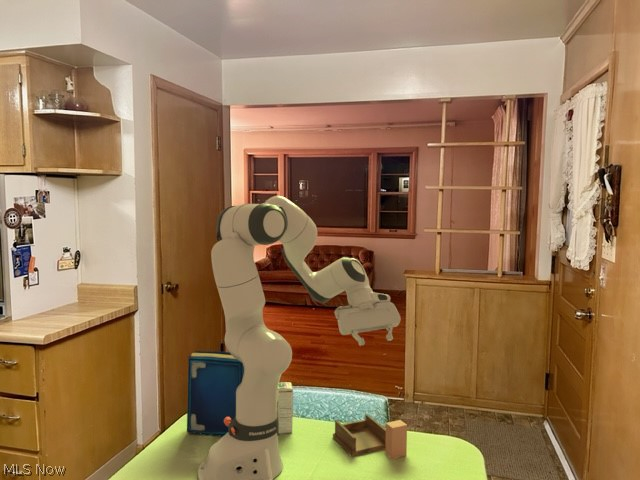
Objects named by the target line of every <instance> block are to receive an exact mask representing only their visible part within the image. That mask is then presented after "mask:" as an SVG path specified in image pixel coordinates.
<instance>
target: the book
mask: <svg viewBox="0 0 640 480" xmlns="http://www.w3.org/2000/svg"><path fill="white" fill-rule="evenodd" d="M187 360H188V361H187V362H188V363H187V364H188V365H187V403H186V404H187V413H186V414H187V415H186V433H189V434H197V435H198V434H199V435H206V436H218V437H223V436H224V435H225V434H227V433H228V426H226V425H225V423H224V419H225V417H230V418H231V420H233V419H234V418H235V416H236V389H237V387H238V386H239V385H240V384H241V382H242V379H243V375H244V366H243V363H242V362H240V361H239V360H237V359H236V358H234V357H233V356H232V355H231V353H230V352H229V351H219V350H218V351H217V350H195V351H194V352H192V353H191V355H188V359H187Z"/></svg>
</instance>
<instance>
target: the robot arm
mask: <svg viewBox="0 0 640 480" xmlns="http://www.w3.org/2000/svg"><path fill="white" fill-rule="evenodd" d="M215 227H216V228H215V229H216V230H215V231H216V236H215V237H216V240H217V242H216V243H215V244H214V245H213V247H212V249H211V252H210V255H211V266H212V272H213V277H214V281H215V285H216V288H217V291H218V294H219V298H220V302H221V305H222V310H223V313H224V321H225V331H226V332H225V333H224V334H225V335H224V344H225V347H226V349H227V350H228V351H227V352H230V353H231V355H232V356H233V357H234V358H236V359H237V360H239V361H240V362H242V363H243V366H244V375H243V379H242V382H241V384H240V385H239V386H238V387H237V389H236V416H235V418H234V419H233V420H231V418H230V417H225V419H224V423H225V425H226V426H228V433H227V434H225V435H224V436H221V438H220V439H218V440H217V441H216V442H214V443H213V444H212V445H211V446H210V448H209V450H208V453H207V456H206V457H207V458H206V460H205V461H203V462H201V463H200V465H199V466H198V469H197V479H198V480H274V479H275V478H276V477H277V476H278V475H280V474H281V472H282V471H283V468H284V465H283V460H282V458H281V454H280V453H281V452H280V447H279V446H280V445H279V439H278V438H279V437H278V436H279V418H278V415H277V391H278V385H279V382H280V380H281V377H282V374H283V373H285V372H286V370H287V369H288V368H289V366H290V365H291V362H292V360H293V358H292V357H293V349H292V346H291V344H290V343H289V342H288V341H287V340H286V339H285V338H284V337H283V336H282V335H281V334H279V333H278V332H276V331H274V330H272V329H269V328H268V327H267V326H266V324H265V322H264V317H263V316H264V315H263V313H264V311H263V309H264V307H265V304H266V298H265V293H264V291H263V287H262V282H261V279H260V274H259V272H258V268H257V265H256V262H255V259H254V251H255V247H256V246H262V245H263V246H268V245H273V244H275V243H277V242H280V243H281V244H282V246H283V248H282V250H281V251H282V252H281V253H282V256H283V259H284V261H285V262H286V264H287V266H288V267H289V268H290V270H291V271H292V273H293V274H294V275H295V276H296V277H297V279H298V280H299V281H300V283H301V284H302V285H303V286H304V288H305V290H306V291H307V293H308V294H309V296H310V298H312V300H314V301H316V302H318V303H320V304H321V303H322V304H325V303H328V302H329V301H330V300H332V299H333V298H334V297H335V296H336V297H337V296H338V295H339V294H342V293H343V292H346V299H347V302H348V305H344V306H338V307H337V308H335V310H334V311H333V313H334V317H335V319H336V320H337V326H338V330H339V333H340V334H341V335H342V336H347V335H351V336H352V338H354V339H355V340H356V341H357V342H358V346H359V347H361V346H364V345H365V344H366V340H365V339H364V337H361V336H360V335H359V333H365V332H372V331H378V330H382V329H386V331H387V332H388V333H387V334H386V335H385V339H386V340H387V341H389V342H390V341H393V339H394V336H393V328H397V327H398V326H399V324H400V323H401V319H402V317H401V314H400V313H399V311H398V309H397V307H396V305H395V303H393V302H391V296H390V295H389V294H386V293H385V294H384V293H379V292H375V291H373V288H371V286H370V280H369V277H368V275H367V273H366V270H365V268H364V266H363V265H362V264H361V262H360V260H359V259H357V258H354V257H348V256H343V257H341V258H339V259H337V260H335V261H333V262H332V263H331V264H329V265H327V266H326V267H324V268H322V269H320V270H318V271H312V269H311V268H310V267H309V265H308V264H307V263H306V261H305V258H306V257H307V256H308V255H309V253H310V252H311V251H312V250H313V249H314V247H315V245H316V242H317V241H318V240H317V239H318V228H317V225H316V223H315V222H314V221H313V219H312V218H311V217H310V216H309V215H308V214H307V213H306V212H305V211H304V210H303V209H302V208H300V207H299V206H298V205H296V204H295V203H294V202H292V201H291V200H289V199H288V198H286V197H284V196H282V195H274V196H271V197H270V198H268V199H267V200H266V201H265V202H264V203H243V204H238V205H232V206H228V207H226V208H225V209H223V210H221V212H219V214H218V216H217V218H216V223H215Z"/></svg>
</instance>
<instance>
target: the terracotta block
mask: <svg viewBox="0 0 640 480" xmlns="http://www.w3.org/2000/svg"><path fill="white" fill-rule="evenodd" d="M385 429H386V442H385V448H384V449H385V451H384V452H385V453H384V454H385V455H387V456H388V457H389V458H390V459H391V460H394V459H397V458H401V457H405V456H407V455H408V454H407V447H408V446H407V443H408V442H407V441H408V440H407V439H408V424H406V423H405V422H404V421H402V419H397V420H394V421H389V422H385Z"/></svg>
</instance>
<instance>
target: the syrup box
mask: <svg viewBox="0 0 640 480" xmlns="http://www.w3.org/2000/svg"><path fill="white" fill-rule="evenodd" d="M293 410H294V387H293V384H292V382H290V381H289V382H287V381H281V382H280V381H279V385H278V391H277V415H278V418H279V434H290V433H293V415H294V414H293ZM279 434H278V435H279Z"/></svg>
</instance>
